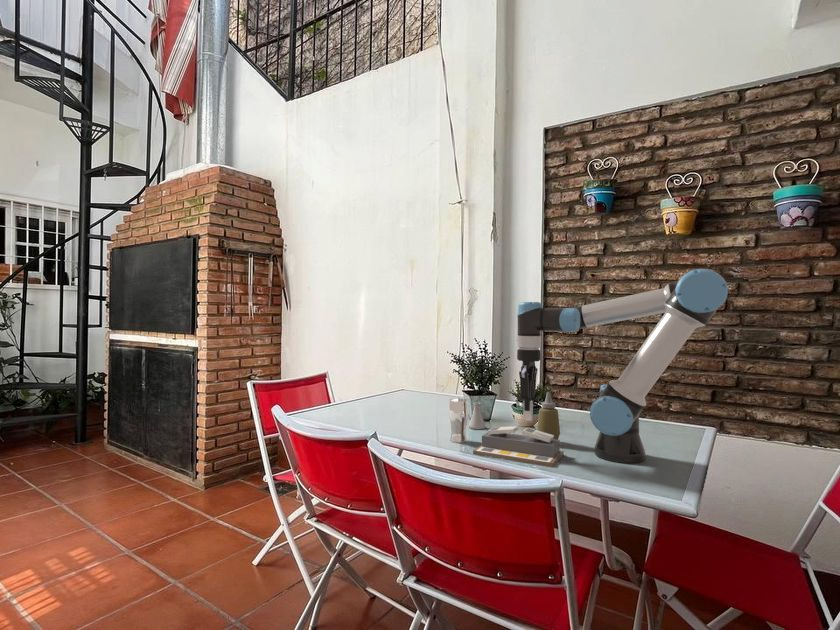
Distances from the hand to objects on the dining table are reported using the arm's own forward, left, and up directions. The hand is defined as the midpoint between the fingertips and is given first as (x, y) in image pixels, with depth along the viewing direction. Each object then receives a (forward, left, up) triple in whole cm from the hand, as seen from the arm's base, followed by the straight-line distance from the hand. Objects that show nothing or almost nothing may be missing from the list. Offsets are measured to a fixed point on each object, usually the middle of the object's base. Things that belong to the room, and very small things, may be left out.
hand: (527, 420), depth 151 cm
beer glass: (+27, -3, -11) cm, 29 cm away
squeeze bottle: (-2, -17, -11) cm, 21 cm away
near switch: (-3, 0, -4) cm, 6 cm away
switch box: (+3, +2, -11) cm, 12 cm away
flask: (+29, -25, -12) cm, 40 cm away
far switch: (+9, 0, -4) cm, 10 cm away
